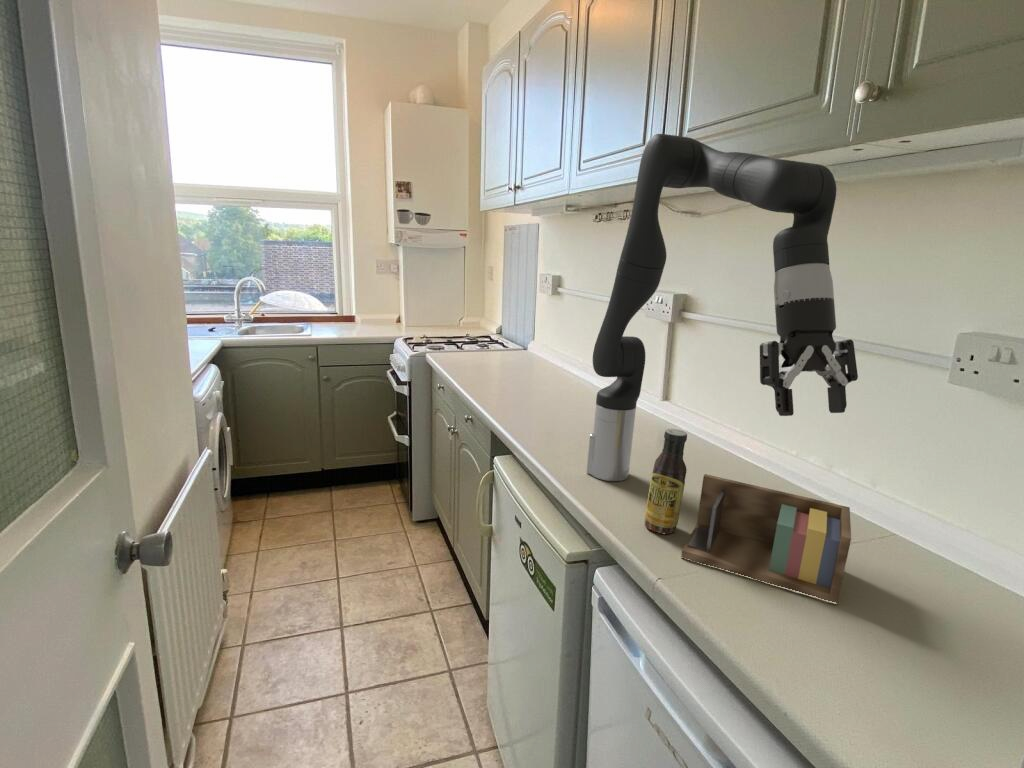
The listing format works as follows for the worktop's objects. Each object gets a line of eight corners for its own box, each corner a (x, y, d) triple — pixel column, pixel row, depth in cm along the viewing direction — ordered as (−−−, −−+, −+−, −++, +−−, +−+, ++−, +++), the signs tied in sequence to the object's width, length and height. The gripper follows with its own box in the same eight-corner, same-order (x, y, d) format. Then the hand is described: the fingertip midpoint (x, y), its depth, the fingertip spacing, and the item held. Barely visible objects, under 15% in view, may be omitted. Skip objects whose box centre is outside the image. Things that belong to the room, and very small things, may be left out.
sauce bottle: (639, 529, 108) (650, 431, 104) (650, 517, 114) (662, 423, 109) (672, 540, 105) (685, 439, 100) (682, 527, 110) (696, 431, 105)
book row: (768, 570, 94) (777, 520, 92) (774, 547, 101) (782, 501, 99) (830, 588, 89) (840, 536, 87) (830, 562, 97) (840, 515, 95)
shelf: (681, 558, 99) (689, 497, 96) (696, 528, 110) (704, 474, 107) (836, 605, 88) (851, 538, 85) (836, 567, 99) (849, 507, 96)
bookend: (687, 546, 100) (693, 502, 98) (698, 526, 108) (704, 485, 106) (709, 552, 98) (716, 508, 96) (718, 532, 106) (725, 490, 104)
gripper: (825, 305, 86) (833, 412, 85) (743, 305, 82) (750, 416, 82) (867, 295, 78) (875, 411, 78) (779, 295, 75) (787, 416, 74)
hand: (811, 414), depth 80 cm, fingers open, 8 cm apart
